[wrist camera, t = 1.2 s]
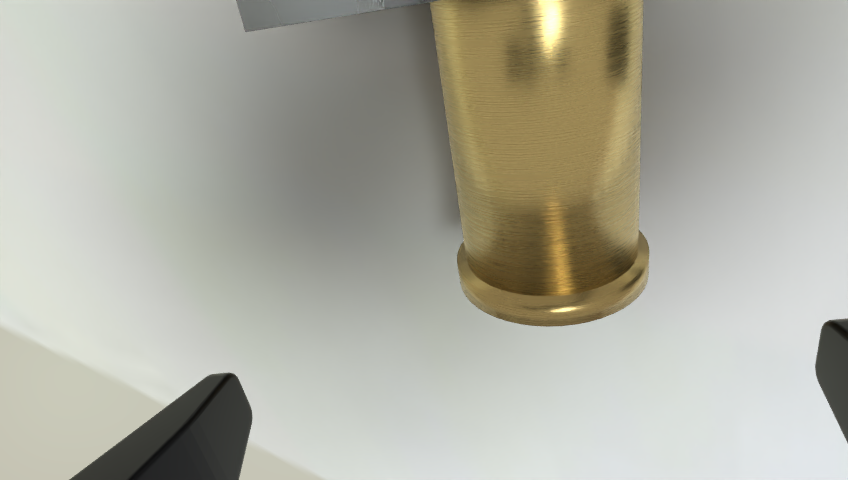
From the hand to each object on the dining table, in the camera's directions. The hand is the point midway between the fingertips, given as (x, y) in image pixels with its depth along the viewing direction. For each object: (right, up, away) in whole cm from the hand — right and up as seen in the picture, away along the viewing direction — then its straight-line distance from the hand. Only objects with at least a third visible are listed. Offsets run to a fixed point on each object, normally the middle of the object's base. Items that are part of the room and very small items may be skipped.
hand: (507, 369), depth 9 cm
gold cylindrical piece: (+2, +8, +9) cm, 12 cm away
